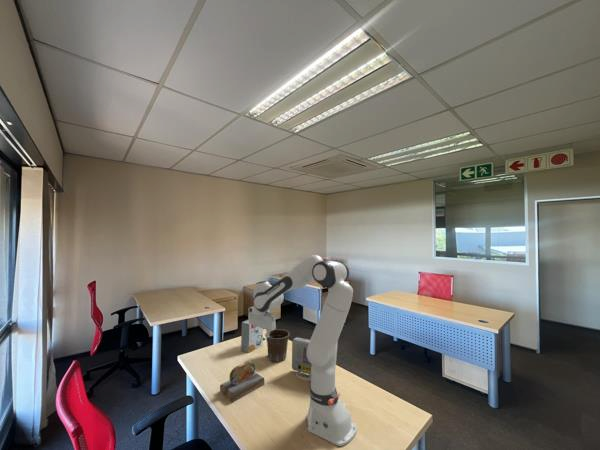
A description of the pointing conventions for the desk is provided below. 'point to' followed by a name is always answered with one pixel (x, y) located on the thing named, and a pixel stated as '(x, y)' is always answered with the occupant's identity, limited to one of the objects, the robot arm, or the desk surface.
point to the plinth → (241, 387)
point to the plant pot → (277, 345)
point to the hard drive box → (250, 337)
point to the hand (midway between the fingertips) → (261, 334)
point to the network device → (301, 357)
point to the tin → (242, 373)
